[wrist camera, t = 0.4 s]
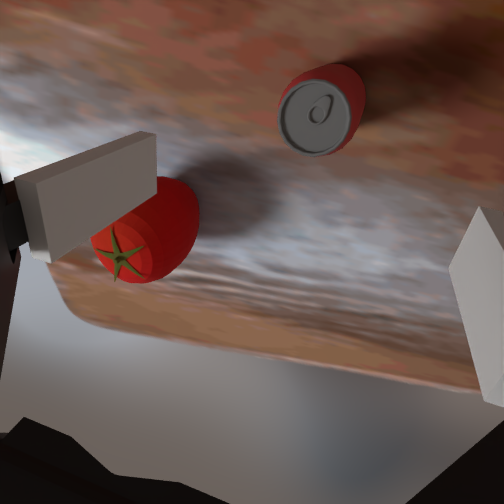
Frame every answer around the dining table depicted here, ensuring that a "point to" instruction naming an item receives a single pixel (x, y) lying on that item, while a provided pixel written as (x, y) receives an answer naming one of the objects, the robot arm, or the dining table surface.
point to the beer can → (321, 110)
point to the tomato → (151, 235)
